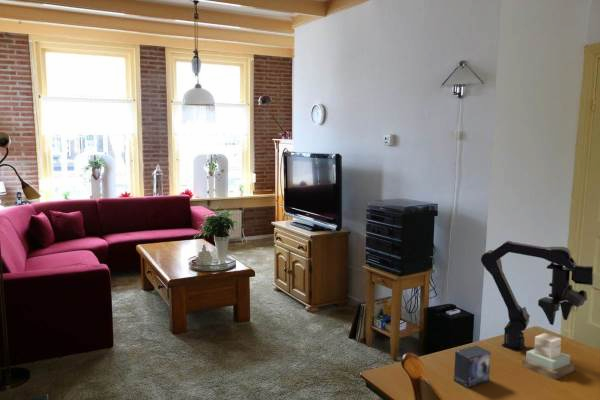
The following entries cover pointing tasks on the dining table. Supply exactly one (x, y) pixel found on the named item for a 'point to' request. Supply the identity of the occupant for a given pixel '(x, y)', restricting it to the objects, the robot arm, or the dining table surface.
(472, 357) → the small box
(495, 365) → the dining table surface
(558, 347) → the cream cube
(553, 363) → the sage slab
